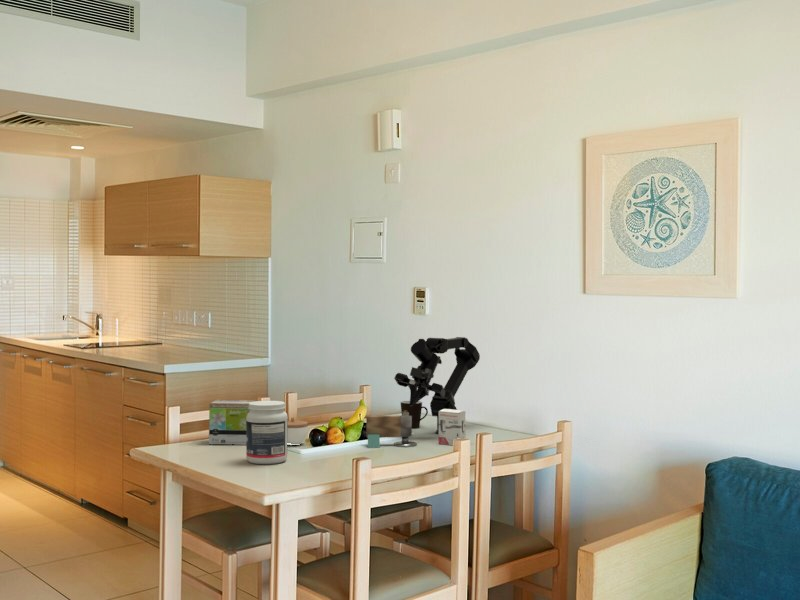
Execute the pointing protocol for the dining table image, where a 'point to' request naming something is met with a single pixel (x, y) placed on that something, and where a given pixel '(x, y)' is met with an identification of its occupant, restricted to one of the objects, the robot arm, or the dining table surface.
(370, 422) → the brown rectangular block
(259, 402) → the supplement tub
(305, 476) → the dining table surface
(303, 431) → the lidded jar
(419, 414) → the coffee mug
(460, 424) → the ink box
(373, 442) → the stool pivot and socket
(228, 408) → the tea box
